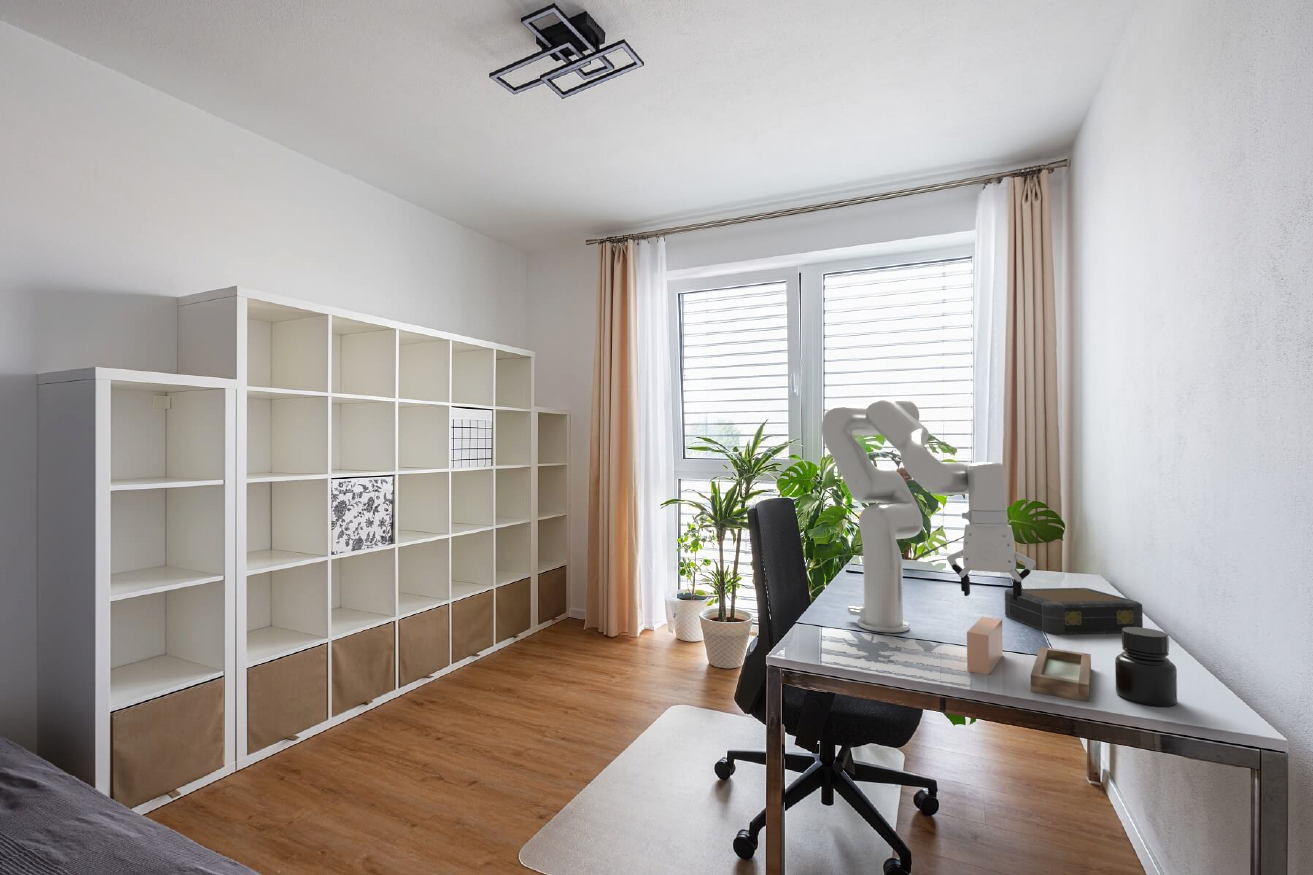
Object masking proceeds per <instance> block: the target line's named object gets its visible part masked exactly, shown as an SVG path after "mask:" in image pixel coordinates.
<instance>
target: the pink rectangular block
mask: <svg viewBox="0 0 1313 875" xmlns="http://www.w3.org/2000/svg"><path fill="white" fill-rule="evenodd" d="M1002 657H1003V619H1001V618H996V617H995V618H994V617H988V616H987V617H986V616H981V617H980V618H979V619H978V620H977V621H976V622H975V624H973V625H972V626H971V627H970V628H969V629H968V630H967V631H966V659H967V660H966V661H967V662H966V664H967V665H966V669H967V672H970V673H971V672H972V673H978V674H982V675H983V674H984V675H990V674H991V672H992V671H993V669H994V668H995V667H996V665H997V664H998V663H999V661H1000V660H1001V659H1002Z"/></svg>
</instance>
